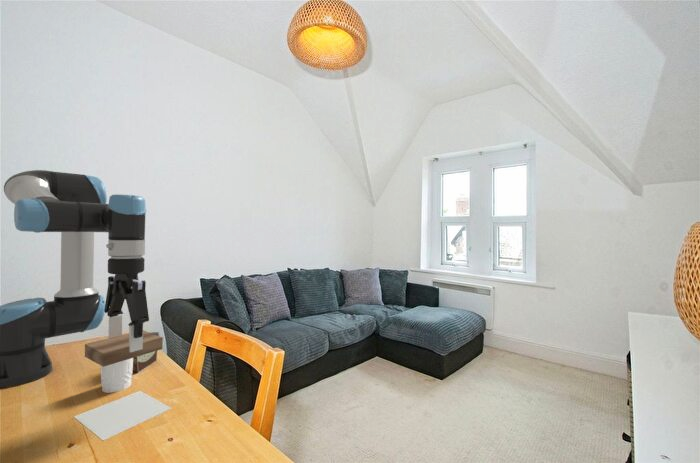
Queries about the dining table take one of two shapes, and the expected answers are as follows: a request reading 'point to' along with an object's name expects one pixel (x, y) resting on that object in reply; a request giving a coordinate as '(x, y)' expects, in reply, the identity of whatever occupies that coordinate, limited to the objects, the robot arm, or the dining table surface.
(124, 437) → the dining table surface
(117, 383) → the white cup
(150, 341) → the walnut board
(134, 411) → the rubber mat
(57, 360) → the dining table surface
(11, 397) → the dining table surface
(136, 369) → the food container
